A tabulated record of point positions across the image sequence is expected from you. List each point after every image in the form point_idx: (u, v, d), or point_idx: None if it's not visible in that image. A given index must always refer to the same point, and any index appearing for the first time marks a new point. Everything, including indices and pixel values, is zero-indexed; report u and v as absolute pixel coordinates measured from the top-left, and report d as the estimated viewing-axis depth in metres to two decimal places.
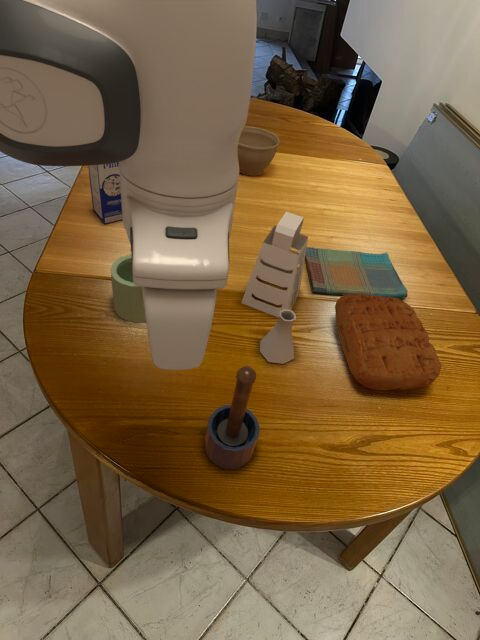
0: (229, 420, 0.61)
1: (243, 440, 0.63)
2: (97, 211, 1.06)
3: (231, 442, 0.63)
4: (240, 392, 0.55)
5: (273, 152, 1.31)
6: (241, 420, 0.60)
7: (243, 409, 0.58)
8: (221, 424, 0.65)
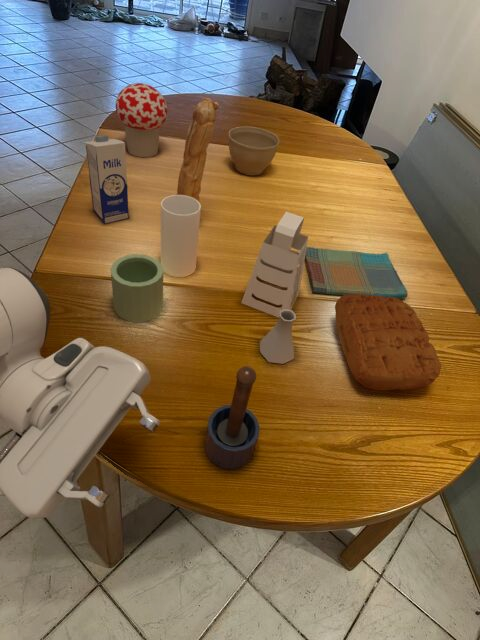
0: (229, 420, 0.61)
1: (243, 440, 0.63)
2: (97, 211, 1.06)
3: (231, 442, 0.63)
4: (240, 392, 0.55)
5: (273, 152, 1.31)
6: (241, 420, 0.60)
7: (243, 409, 0.58)
8: (221, 424, 0.65)
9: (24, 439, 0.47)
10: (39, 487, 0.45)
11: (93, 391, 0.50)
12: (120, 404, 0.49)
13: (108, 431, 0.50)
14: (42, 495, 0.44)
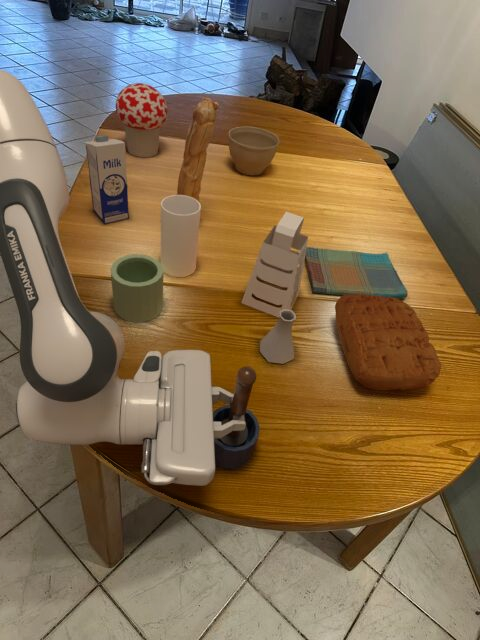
0: (229, 420, 0.61)
1: (243, 440, 0.63)
2: (97, 211, 1.06)
3: (231, 442, 0.63)
4: (240, 392, 0.55)
5: (273, 152, 1.31)
6: None
7: (243, 409, 0.58)
8: (221, 424, 0.65)
9: (162, 432, 0.54)
10: (202, 452, 0.53)
11: (186, 380, 0.61)
12: None
13: None
14: (209, 455, 0.53)
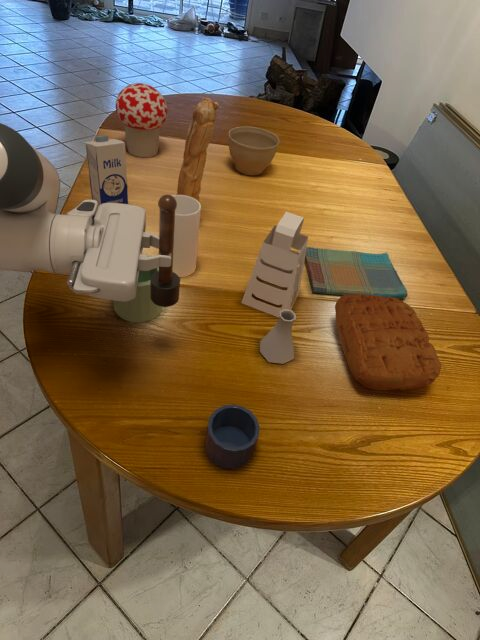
0: None
1: (174, 286, 0.68)
2: None
3: (162, 286, 0.67)
4: (162, 220, 0.60)
5: (273, 152, 1.31)
6: None
7: (169, 244, 0.63)
8: (155, 274, 0.69)
9: (89, 254, 0.59)
10: (124, 269, 0.58)
11: (118, 224, 0.65)
12: (143, 225, 0.67)
13: None
14: (130, 271, 0.58)
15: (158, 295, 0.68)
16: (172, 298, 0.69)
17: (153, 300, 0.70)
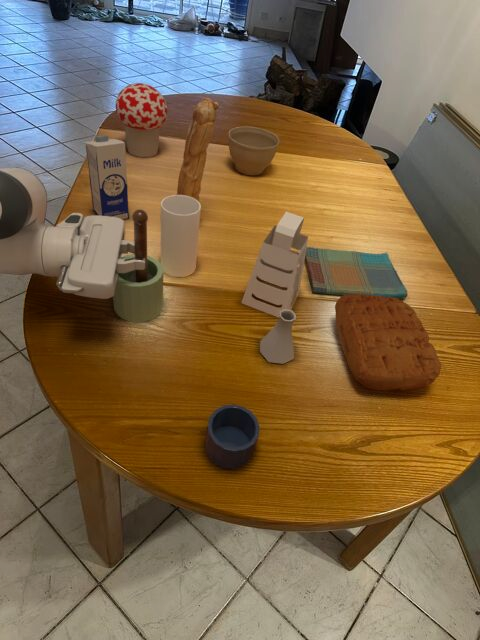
0: None
1: None
2: (97, 211, 1.06)
3: None
4: (136, 231, 0.72)
5: (273, 152, 1.31)
6: None
7: (142, 250, 0.75)
8: (133, 275, 0.81)
9: (75, 260, 0.71)
10: (104, 272, 0.70)
11: (101, 233, 0.77)
12: (121, 235, 0.78)
13: (118, 256, 0.78)
14: (109, 274, 0.69)
15: None
16: None
17: None
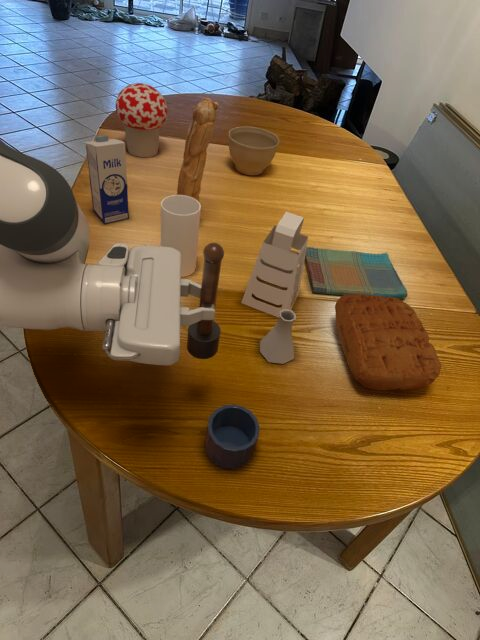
0: None
1: (215, 337, 0.61)
2: (97, 211, 1.06)
3: (202, 338, 0.60)
4: (207, 271, 0.53)
5: (273, 152, 1.31)
6: None
7: (212, 295, 0.56)
8: None
9: (125, 312, 0.52)
10: (167, 329, 0.51)
11: (153, 271, 0.58)
12: (180, 272, 0.60)
13: None
14: (174, 332, 0.51)
15: (197, 348, 0.61)
16: (212, 350, 0.62)
17: (191, 352, 0.63)
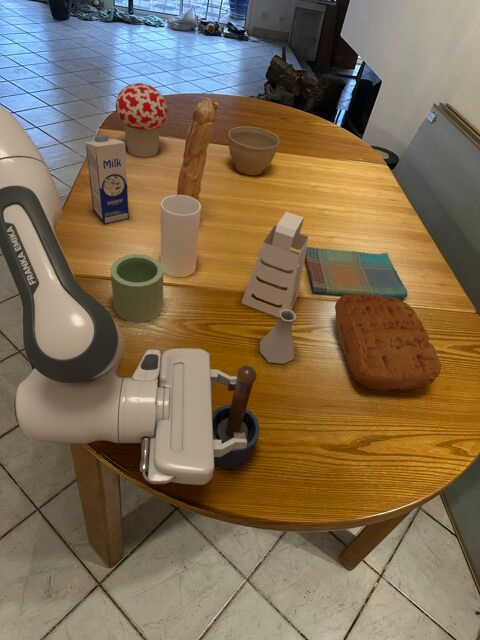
0: (229, 419, 0.61)
1: None
2: (97, 211, 1.06)
3: None
4: (240, 391, 0.55)
5: (273, 152, 1.31)
6: (241, 419, 0.60)
7: (243, 408, 0.58)
8: (221, 423, 0.65)
9: (160, 431, 0.54)
10: (201, 451, 0.53)
11: (185, 379, 0.60)
12: (210, 378, 0.61)
13: None
14: (208, 454, 0.53)
15: None
16: None
17: None
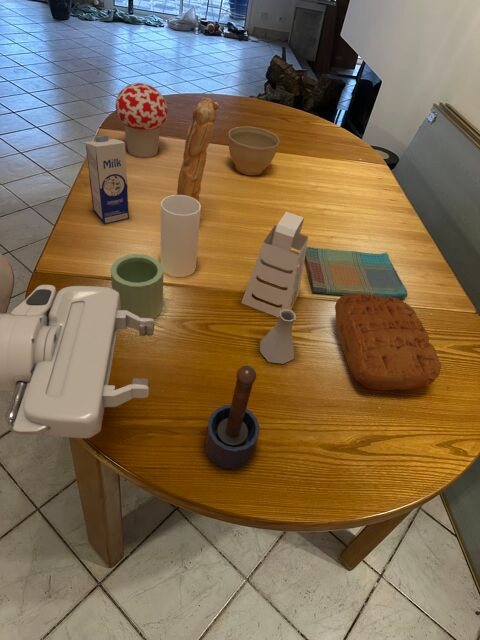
0: (229, 419, 0.61)
1: (243, 439, 0.63)
2: (97, 211, 1.06)
3: (231, 441, 0.63)
4: (240, 391, 0.55)
5: (273, 152, 1.31)
6: (241, 419, 0.60)
7: (243, 408, 0.58)
8: (221, 423, 0.65)
9: (38, 373, 0.44)
10: (85, 396, 0.43)
11: (82, 318, 0.50)
12: (114, 318, 0.51)
13: (109, 352, 0.51)
14: (92, 399, 0.43)
15: None
16: None
17: None
